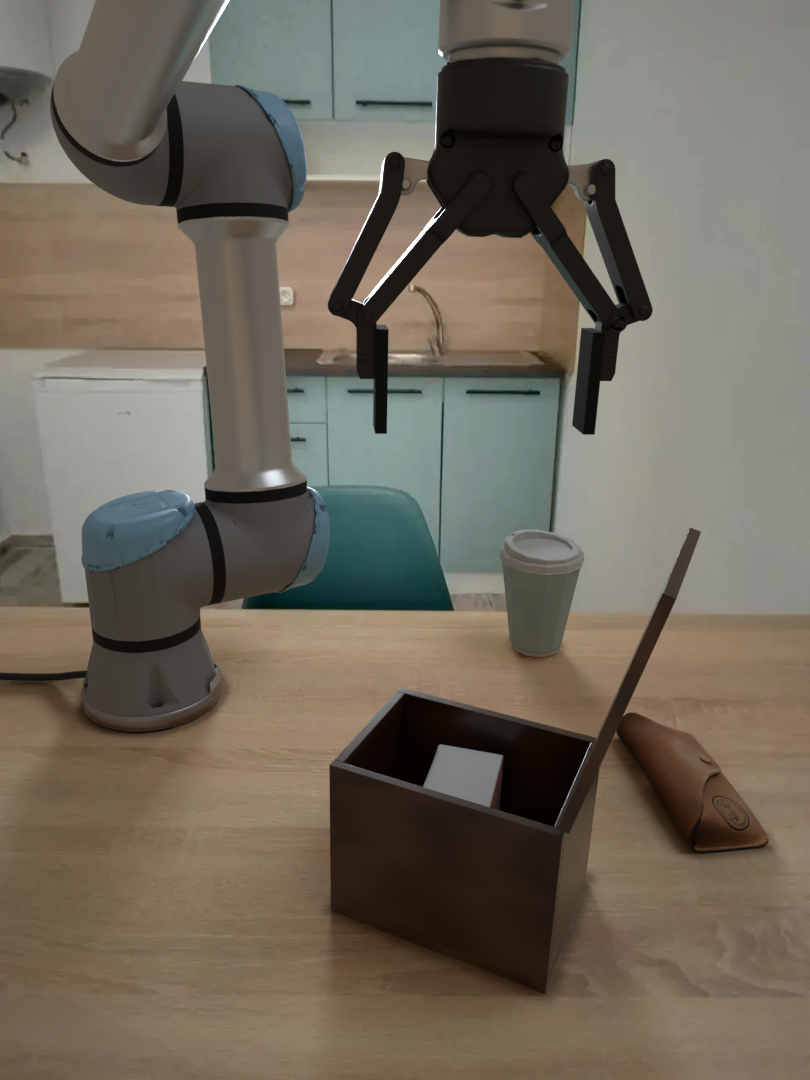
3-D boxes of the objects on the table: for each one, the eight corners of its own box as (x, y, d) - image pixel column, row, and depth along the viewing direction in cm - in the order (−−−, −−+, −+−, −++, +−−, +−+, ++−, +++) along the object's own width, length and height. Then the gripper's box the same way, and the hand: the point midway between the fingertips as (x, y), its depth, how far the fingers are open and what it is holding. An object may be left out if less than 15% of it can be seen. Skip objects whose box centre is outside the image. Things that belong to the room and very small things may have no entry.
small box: (481, 927, 64) (489, 815, 60) (410, 912, 65) (414, 801, 61) (497, 857, 71) (505, 753, 67) (434, 844, 72) (438, 741, 69)
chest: (330, 911, 66) (328, 765, 61) (397, 817, 77) (400, 687, 72) (545, 994, 59) (562, 837, 54) (585, 878, 70) (603, 739, 65)
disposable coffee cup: (587, 642, 111) (599, 537, 106) (555, 675, 102) (566, 563, 97) (515, 622, 116) (523, 521, 111) (479, 652, 108) (486, 544, 102)
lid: (662, 592, 47) (676, 598, 46) (690, 527, 57) (701, 531, 57) (557, 828, 54) (568, 834, 54) (599, 731, 65) (608, 736, 65)
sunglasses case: (778, 842, 74) (753, 791, 72) (708, 879, 74) (681, 830, 72) (687, 729, 91) (664, 685, 88) (630, 761, 91) (606, 717, 89)
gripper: (279, 40, 43) (289, 442, 50) (743, 61, 45) (687, 443, 52) (286, 67, 50) (294, 416, 57) (687, 84, 52) (645, 418, 59)
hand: (482, 430), depth 55 cm, fingers open, 13 cm apart
